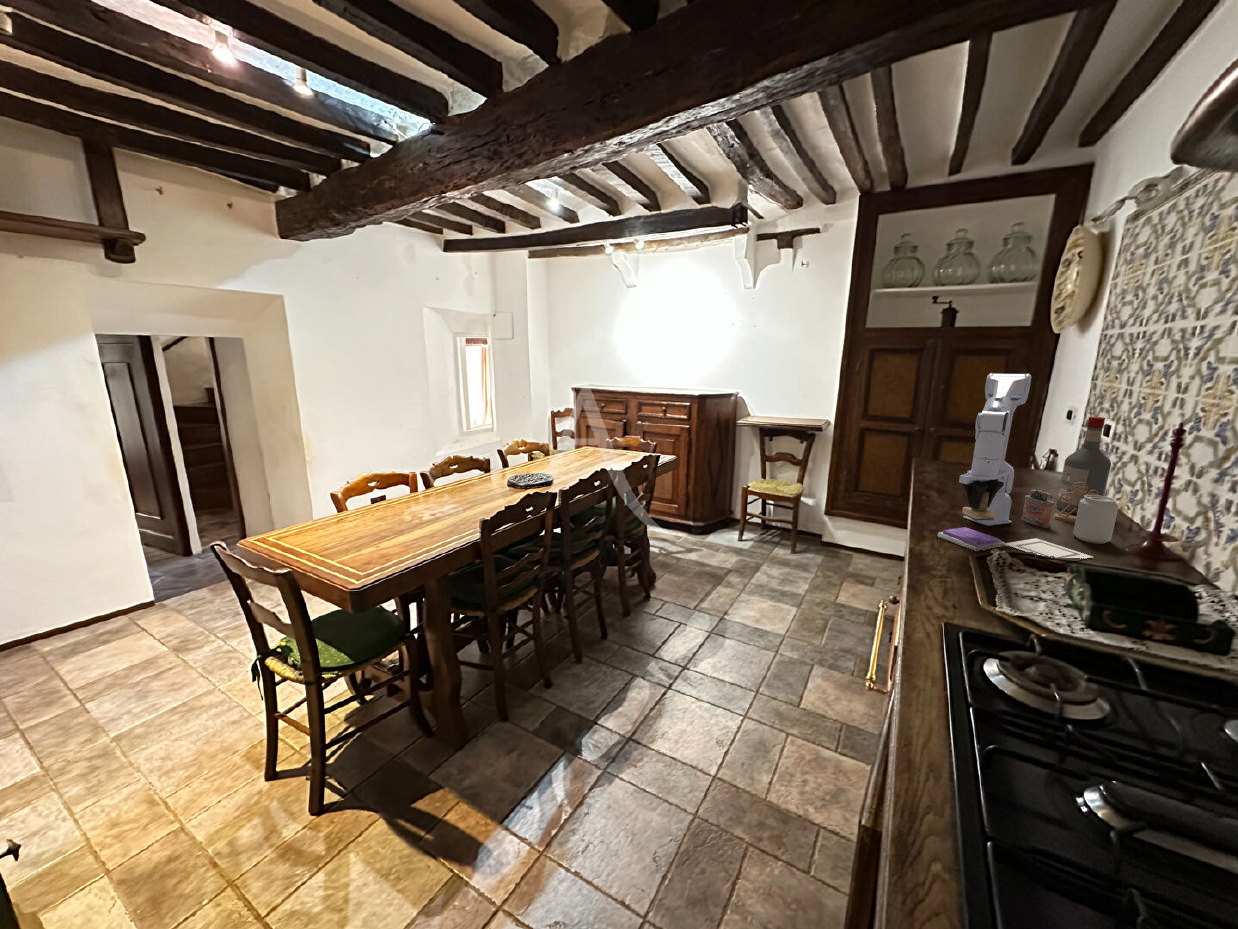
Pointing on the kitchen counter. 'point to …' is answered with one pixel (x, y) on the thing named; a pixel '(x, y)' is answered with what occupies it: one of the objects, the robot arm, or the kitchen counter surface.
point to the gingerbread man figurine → (1068, 516)
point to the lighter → (1038, 508)
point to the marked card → (1046, 549)
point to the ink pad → (970, 539)
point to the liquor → (1085, 467)
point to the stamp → (980, 510)
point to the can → (1096, 519)
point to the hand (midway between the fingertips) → (978, 507)
